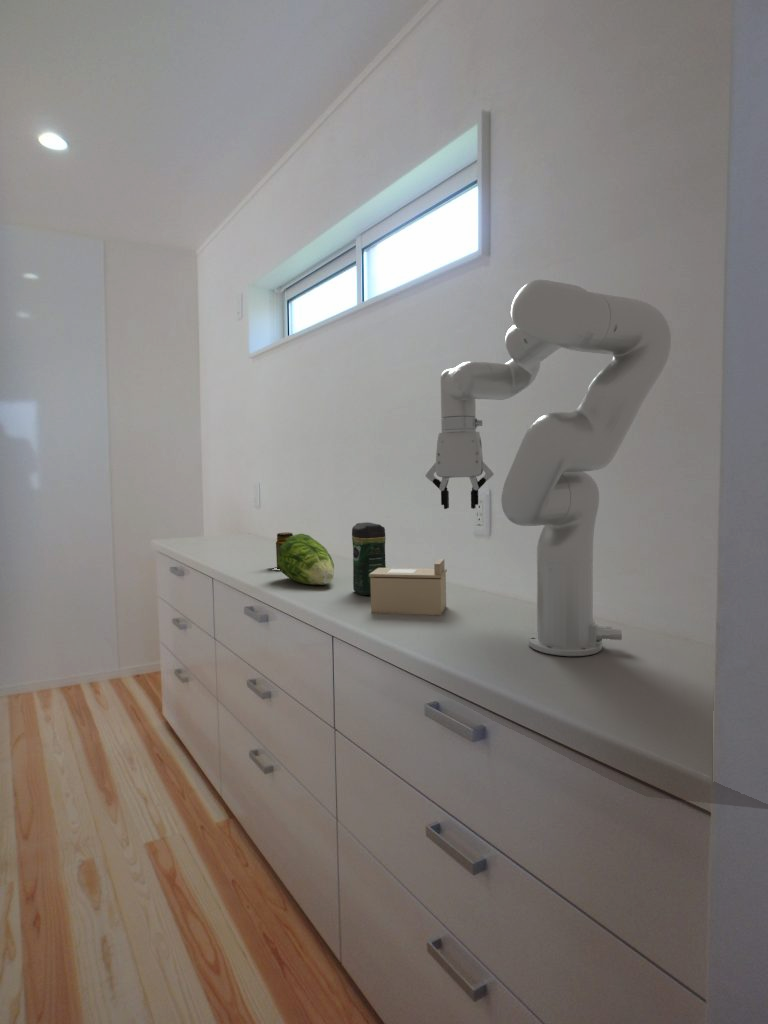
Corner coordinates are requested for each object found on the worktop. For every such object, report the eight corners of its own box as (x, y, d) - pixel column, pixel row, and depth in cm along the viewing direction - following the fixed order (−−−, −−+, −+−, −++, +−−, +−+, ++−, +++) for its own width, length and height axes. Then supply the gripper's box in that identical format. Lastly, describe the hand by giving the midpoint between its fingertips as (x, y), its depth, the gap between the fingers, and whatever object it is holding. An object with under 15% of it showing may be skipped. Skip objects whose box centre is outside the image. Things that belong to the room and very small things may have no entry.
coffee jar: (391, 594, 152) (389, 523, 151) (362, 597, 149) (360, 525, 148) (376, 587, 161) (375, 520, 160) (349, 590, 158) (347, 522, 157)
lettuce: (307, 607, 160) (303, 562, 155) (273, 577, 178) (269, 536, 174) (352, 593, 167) (350, 549, 163) (315, 566, 186) (312, 526, 181)
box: (446, 606, 137) (445, 572, 137) (441, 615, 130) (440, 579, 129) (379, 604, 141) (379, 571, 141) (371, 612, 133) (370, 577, 133)
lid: (446, 571, 137) (446, 558, 137) (441, 578, 129) (441, 564, 128) (378, 570, 141) (378, 557, 141) (369, 576, 133) (368, 563, 132)
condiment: (300, 568, 197) (299, 532, 196) (279, 572, 191) (277, 535, 190) (287, 566, 202) (286, 531, 201) (266, 569, 196) (265, 533, 195)
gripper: (498, 425, 131) (499, 506, 132) (423, 428, 135) (424, 507, 136) (497, 423, 124) (498, 509, 125) (417, 426, 128) (418, 509, 129)
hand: (459, 507), depth 131 cm, fingers open, 5 cm apart
